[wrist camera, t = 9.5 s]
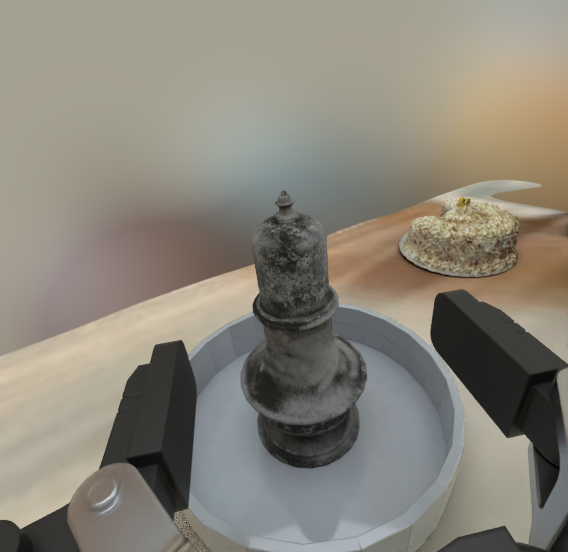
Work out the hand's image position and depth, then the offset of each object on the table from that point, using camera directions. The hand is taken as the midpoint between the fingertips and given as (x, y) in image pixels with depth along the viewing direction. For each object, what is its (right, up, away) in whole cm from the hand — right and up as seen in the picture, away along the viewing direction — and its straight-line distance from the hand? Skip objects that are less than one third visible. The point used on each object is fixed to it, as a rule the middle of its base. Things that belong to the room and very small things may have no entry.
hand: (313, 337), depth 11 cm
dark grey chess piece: (0, -6, +7) cm, 9 cm away
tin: (0, -6, +7) cm, 9 cm away
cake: (+15, +4, +21) cm, 26 cm away
